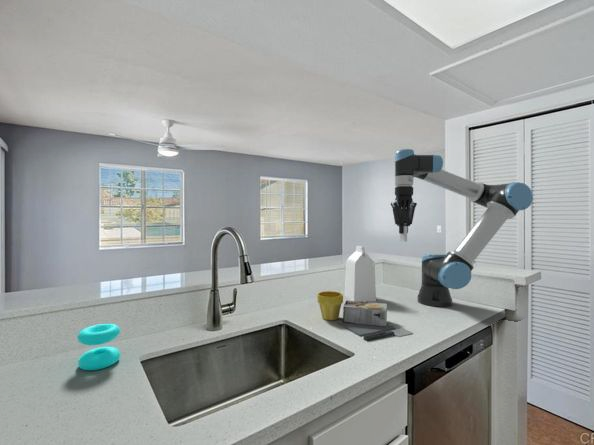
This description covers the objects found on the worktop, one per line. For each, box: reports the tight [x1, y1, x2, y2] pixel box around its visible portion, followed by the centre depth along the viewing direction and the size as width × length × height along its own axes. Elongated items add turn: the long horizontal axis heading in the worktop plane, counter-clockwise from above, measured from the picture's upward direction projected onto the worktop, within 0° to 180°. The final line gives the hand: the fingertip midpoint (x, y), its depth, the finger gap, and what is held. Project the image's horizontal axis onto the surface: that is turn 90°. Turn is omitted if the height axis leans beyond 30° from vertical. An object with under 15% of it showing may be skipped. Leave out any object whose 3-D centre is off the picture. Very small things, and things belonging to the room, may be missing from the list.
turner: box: [363, 327, 414, 342], centre depth 109 cm, size 19×5×1 cm, turn 116°
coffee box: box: [342, 300, 388, 326], centre depth 123 cm, size 9×6×16 cm
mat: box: [336, 320, 396, 337], centre depth 118 cm, size 16×14×1 cm
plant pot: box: [316, 290, 344, 321], centre depth 128 cm, size 10×10×10 cm
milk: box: [343, 245, 377, 302], centre depth 157 cm, size 12×12×26 cm
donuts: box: [77, 323, 121, 371], centre depth 88 cm, size 10×10×10 cm
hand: (403, 241), depth 136 cm, fingers closed
